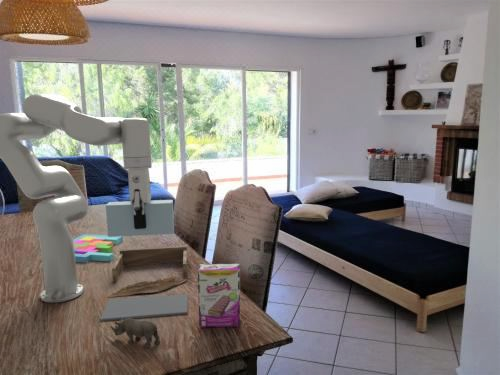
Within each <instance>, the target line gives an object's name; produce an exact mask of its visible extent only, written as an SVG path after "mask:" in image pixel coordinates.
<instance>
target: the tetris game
mask: <svg viewBox="0 0 500 375" xmlns="http://www.w3.org/2000/svg"><path fill="white" fill-rule="evenodd" d="M123 237H124V236H116V237H108V234H107V235H105V234H103V235H102V234H87V233H84V234H82V235H80V236H78V237H76V238H73V241H74V250H75V261H76V263H88V262H90V261H100V262H103V261H104V262H111V261H113V260H114V258H115V254H114V253H113V248H114V246H115V245H116V246H117V245H119V244H121V243H122V242H124V238H123Z"/></svg>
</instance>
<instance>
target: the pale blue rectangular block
mask: <svg viewBox="0 0 500 375" xmlns="http://www.w3.org/2000/svg"><path fill="white" fill-rule="evenodd" d="M140 204H142V202H140ZM140 207H141V208H142V206H140ZM105 213H106V216H105V217H106V227H107V235H108V237H116V236H123V237H130V236H131V237H134V236H135V237H136V236H152V235H153V236H154V235H174V232H175V220H174V219H175V218H174V215H175V214H174V200H173V199H164V200H163V199H159V200H158V199H157V200H156V199H155V200H150V202H149V203H148V204H146V203H144V214H146V228H145V229H135V228H134V204H133V205H132V204H131V203H130V200H129V201H125V200H124V201H109V202H108V203H106V205H105Z"/></svg>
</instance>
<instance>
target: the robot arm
mask: <svg viewBox="0 0 500 375" xmlns="http://www.w3.org/2000/svg"><path fill="white" fill-rule="evenodd" d="M21 108H22V112H5V113H4V112H3V113H0V159H1V160H2V162H3V163H4V164H5V166H6V168H7V169H8V171H9V172H10V174H11V175H12V177H13V179H14V181H15V182H16V183H17V185H18V186H19V188H20V190H21V191H22V192H23V194H24V195H25V197H27V198H28V199H31V200H38V199H44V198H46V197H50V198H46V199H44V200H41V201H40V202H38V203H37V204H36V205H35V206H34V208H33V211H32V217H33V218H32V220H33V223H34V224H35V227H36V230H37V235H38V239H39V240H38V241H39V246H40V254H41V255H40V256H41V266H42V274H43V283H44V290H42V291H41V293H40V295H39V298H40V300H41V301H42V302H45V303H63V302H66V301H67V302H68V301H71V300H73V299H75V298H77V297H79V296H81V295H82V294H83V292H84V285H82V284H80V283H79V282H78V273H77V262H76V261H75V250H74V241H73V239H74V238H73V234H72V233H71V232H70V231H69V229H68V227H67V226H69V225H70V224H73V223H74V224H75V223H76V222H79V221H81V220H83V219H85V218H86V217H87V216H88V213H89V210H90V208H89V207H90V206H89V202H88V200H87V198H86V196H85V195H84V193H83V191H82V189H81V188H80V187H79V185H78V183H77V182H76V181H75V179H74V177H73V176H72V174H71V173H70V171H69V170H67V169H66V168H64V167H62V166H60V165H46V166H44V165H42V163H41V162H40V161H39V159H38V158H37V156H36V154H35V153H34V152H33V151H32V150H31V149H30V148H29V147H27V146H26V145H24V144H22V143H21V142H20V141H30V140H32V141H33V140H40V139H44V138H46V137H47V136H49V135H51V134H52V133H53V132H55V131H56V130H59V131H62V132H64V133H65V135H67V136H68V137H69V138H71V139H73V140H75V141H78V142H81V143H85V144H87V145H91V146H97V147H98V146H99V147H100V146H101V147H103V146H109V145H119V144H122V159H123V169H124V170H127V172H128V174H127V176H128V178H127V179H128V192H129V201H130V203H131V204H132V205H133V204H134V228H135V229H145V228H146V214H144V203H146V204H148V203H149V202H150V201H152V200H151V199H152V192H151V191H152V190H151V181H150V171H149V169H152V167H153V165H152V150H151V149H152V147H151V130H150V122H149V120H148V119H147V118H144V117H129V118H125V117H109V116H108V117H107V116H106V117H96V116H90V115H89V114H88V115H87V114H84V113H83V111H82V109H81V107H80V106H79V105H77V104H75V103H72V102H71V101H70V100H69V99H67V98H66V97H65V96H62V95H60V94H59V95H58V94H46V93H35V94H31V95H29V96H27V97H26V98H25V99H24V100H23V103H22V106H21ZM51 196H54V197H51ZM140 202H142V204H140ZM140 206H142V208H141V207H140Z"/></svg>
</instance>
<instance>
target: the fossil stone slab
mask: <svg viewBox="0 0 500 375" xmlns="http://www.w3.org/2000/svg"><path fill="white" fill-rule="evenodd" d="M184 282H187V280H186V279H184V278H180V277H177V276H171V277H165V278H163V279H157V280H156V281H153V280H152V281H148V280H147V281H146V280H145V281H140V282H137V283H133V284H130V285H128V284H127V286H124V287H122V288H121V289H118V291H116V292H113V293H111V294H109V296H107V298H116V297H124V296H132V295H137V294H149V293H162V292H163V291H166V290H168V289H170V288H173V287H175V286H179V285H180V284H182V283H184Z"/></svg>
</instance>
